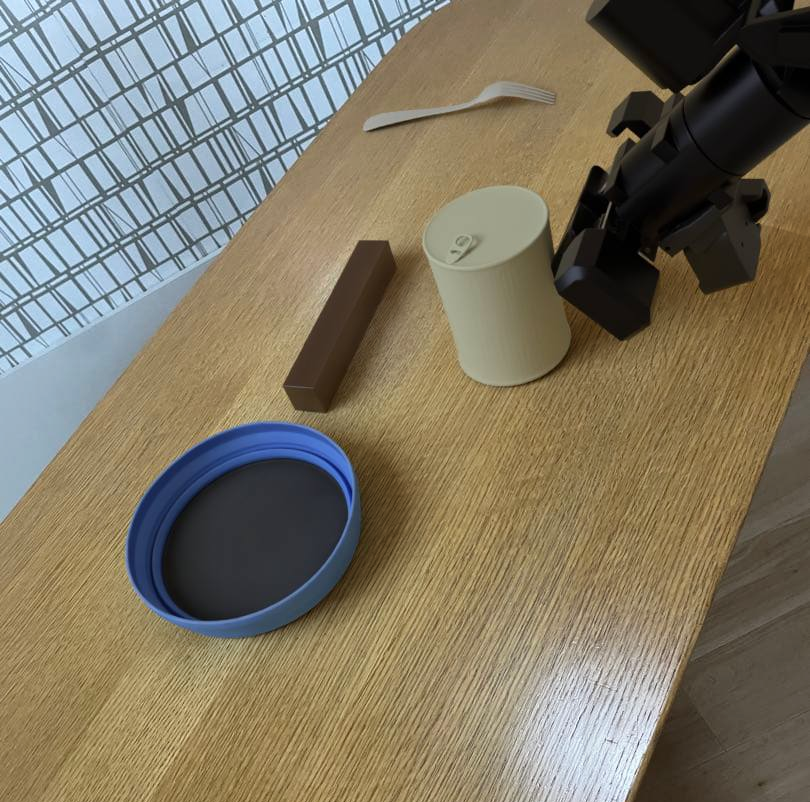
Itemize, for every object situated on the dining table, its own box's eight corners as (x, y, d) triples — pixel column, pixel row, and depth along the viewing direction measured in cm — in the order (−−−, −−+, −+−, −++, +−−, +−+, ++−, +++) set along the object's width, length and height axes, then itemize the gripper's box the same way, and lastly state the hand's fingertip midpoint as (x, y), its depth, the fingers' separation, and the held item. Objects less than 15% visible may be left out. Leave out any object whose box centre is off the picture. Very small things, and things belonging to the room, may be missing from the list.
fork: (374, 139, 95) (365, 116, 93) (555, 91, 87) (549, 66, 85) (369, 154, 94) (360, 131, 92) (553, 107, 86) (547, 81, 84)
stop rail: (397, 266, 78) (388, 239, 75) (326, 413, 70) (314, 388, 67) (368, 266, 79) (358, 239, 77) (294, 410, 71) (281, 385, 68)
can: (436, 368, 69) (394, 248, 60) (499, 295, 72) (468, 169, 63) (529, 400, 64) (499, 275, 55) (593, 321, 67) (574, 189, 58)
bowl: (383, 438, 66) (370, 408, 64) (353, 644, 57) (337, 619, 54) (179, 457, 71) (158, 430, 68) (119, 651, 61) (92, 628, 58)
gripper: (797, 325, 47) (607, 434, 60) (826, 124, 55) (655, 258, 68) (650, 203, 43) (483, 347, 56) (705, 10, 52) (549, 174, 65)
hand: (551, 279), depth 62 cm, fingers closed, pressing on can
